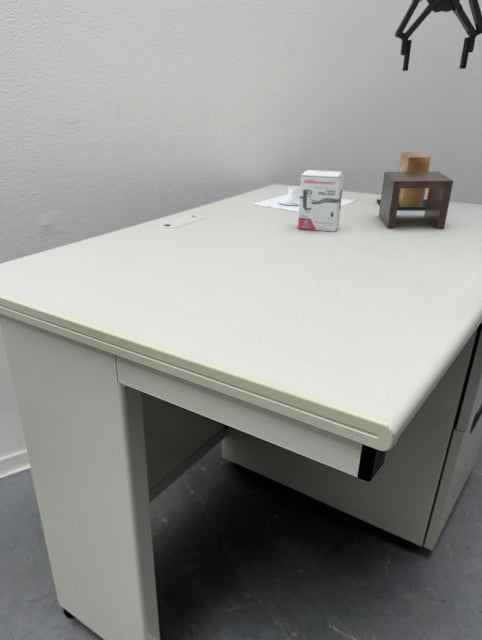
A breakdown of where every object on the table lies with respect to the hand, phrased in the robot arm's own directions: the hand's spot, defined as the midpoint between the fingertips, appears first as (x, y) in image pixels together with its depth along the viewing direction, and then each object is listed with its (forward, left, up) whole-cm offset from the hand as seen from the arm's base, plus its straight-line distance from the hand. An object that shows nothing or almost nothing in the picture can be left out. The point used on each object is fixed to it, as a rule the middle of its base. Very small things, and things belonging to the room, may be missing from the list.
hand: (433, 69), depth 134 cm
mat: (+4, +12, -30) cm, 33 cm away
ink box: (+28, +35, -30) cm, 54 cm away
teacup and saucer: (+30, +8, -30) cm, 43 cm away
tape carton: (+4, +12, -30) cm, 32 cm away
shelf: (+7, +29, -30) cm, 43 cm away
